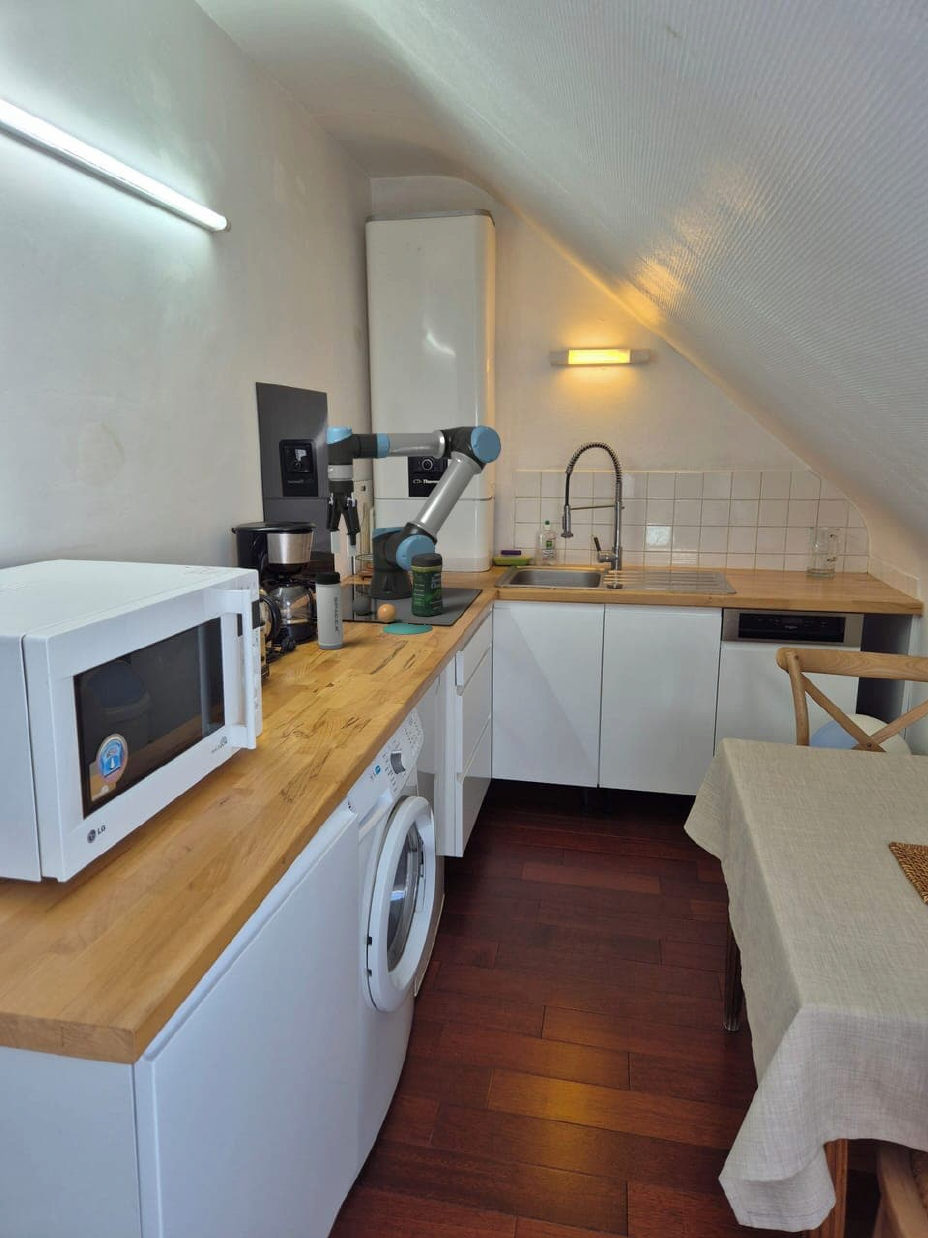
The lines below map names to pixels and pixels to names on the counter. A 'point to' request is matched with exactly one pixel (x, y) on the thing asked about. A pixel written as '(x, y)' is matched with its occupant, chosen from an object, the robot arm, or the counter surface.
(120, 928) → the counter surface
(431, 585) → the coffee jar
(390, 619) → the orange ball
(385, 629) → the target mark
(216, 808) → the counter surface
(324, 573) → the travel mug
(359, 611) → the dark gray ball
